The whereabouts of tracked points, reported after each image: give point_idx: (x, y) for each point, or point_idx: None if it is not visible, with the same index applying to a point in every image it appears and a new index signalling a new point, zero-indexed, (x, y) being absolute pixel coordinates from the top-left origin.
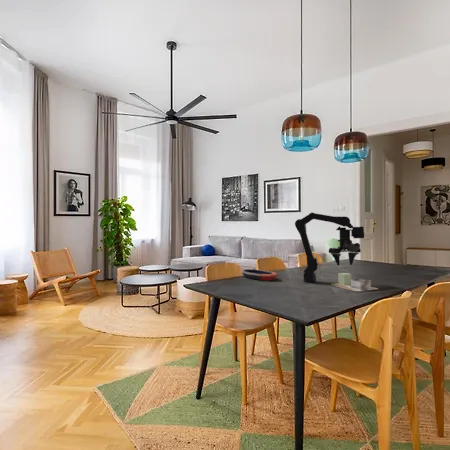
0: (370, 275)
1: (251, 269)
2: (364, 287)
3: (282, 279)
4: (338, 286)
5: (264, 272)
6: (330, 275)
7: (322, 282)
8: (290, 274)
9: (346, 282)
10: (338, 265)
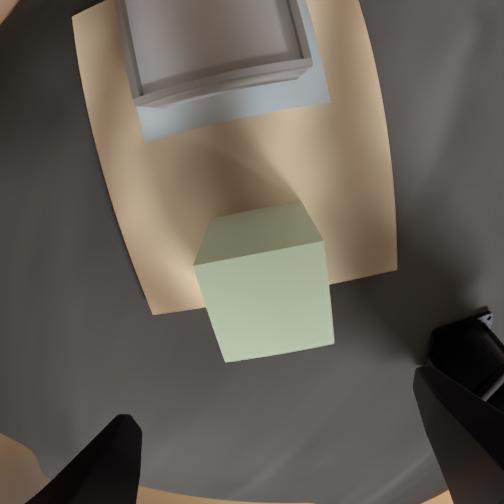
0: (19, 436)
1: None
2: None
3: None
4: (387, 156)
5: None
6: (194, 490)
7: (358, 378)
8: (366, 501)
9: (274, 213)
10: (428, 365)
